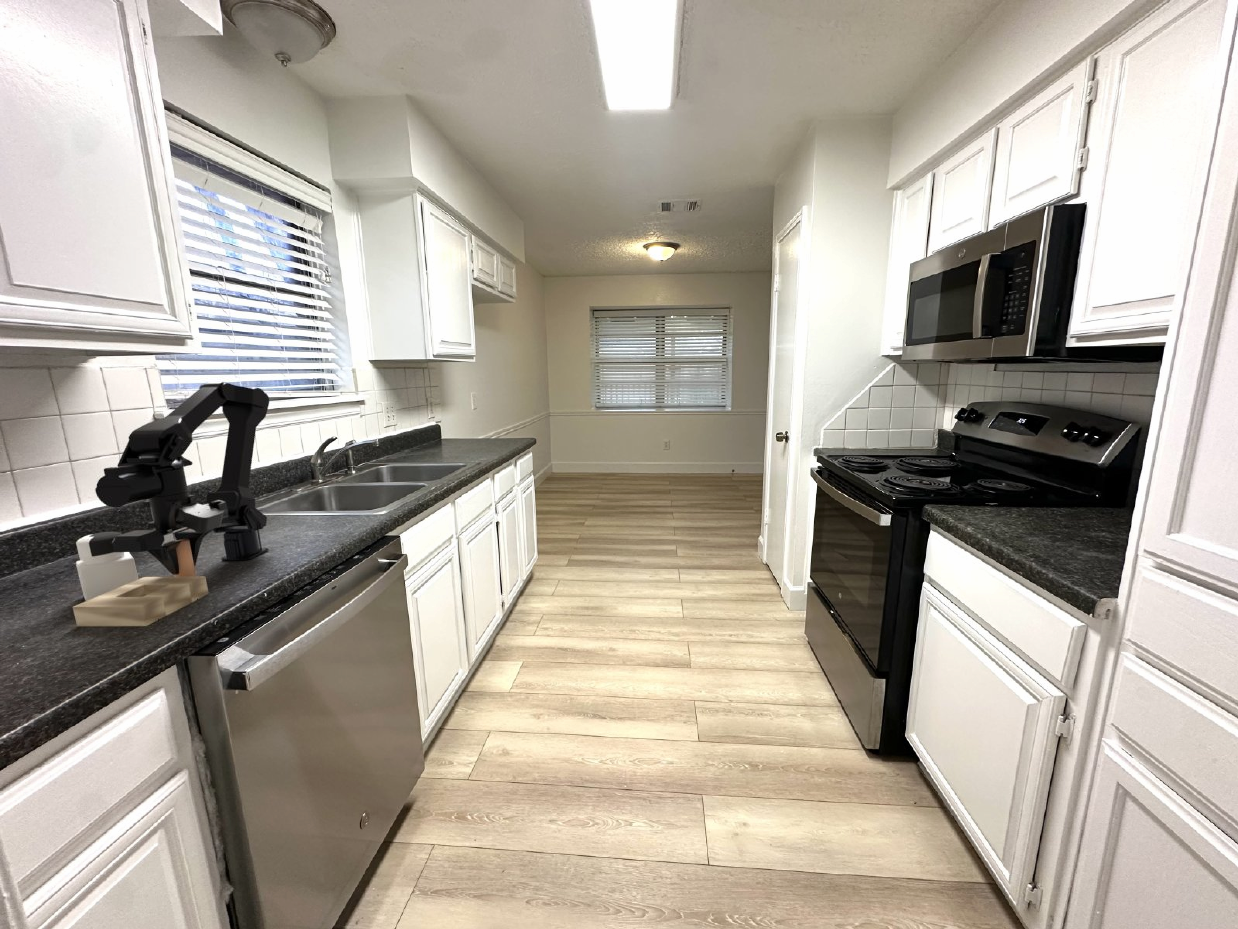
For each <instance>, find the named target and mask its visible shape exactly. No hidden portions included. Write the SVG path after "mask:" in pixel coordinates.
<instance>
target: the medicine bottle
mask: <svg viewBox="0 0 1238 929" xmlns="http://www.w3.org/2000/svg"><path fill="white" fill-rule="evenodd" d="M122 534H123V533H121V532H120V531H119V532H118V531H101V532H97V533H96V532H95V533H92V534H87V535H85V536H83V537H80V538H79V539H78V540H77V541H76V542H75V544H76V548H77V552H78V556H79V560H77V561H76V562H75V566H76V569H77V575H78V579H79V582H80V587H81V591H82V594H83V597H84V600H85V601H88V600H90V599H93V598H95V597H97V596H100V595H102V594H105V593H107V592H109V591H112V590H114V589H117V588H119V587H121V586H124V585H126V584H129V583H131V582H133V581H136V580H138V579H139V576H138V572H137V571H138V570H137V567H136V563H135V558H134V557H133V556H132V555H131V552H114V550H113V545H112V541H113V540H114V538H115V537H116V536H119V535H122Z"/></svg>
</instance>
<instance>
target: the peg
mask: <svg viewBox="0 0 1238 929" xmlns="http://www.w3.org/2000/svg"><path fill="white" fill-rule="evenodd" d="M175 541H181V542H180V544H179V545H178V547H177V548H176V551H177V557H178V563H179V574H177V575H173V577H192V576H197V573H196V569H195V568H196V566H195V567H194V562H193V557H192V552H191V547H190V542H189V539H181V540H176V539H175Z"/></svg>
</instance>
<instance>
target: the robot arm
mask: <svg viewBox="0 0 1238 929" xmlns="http://www.w3.org/2000/svg"><path fill="white" fill-rule="evenodd" d="M269 405H270V398H269V395H268V394H267V393H266V392H265V391H264V390H263V389H262V388H259V387H248V386H247V387H246V386H241V385H237V384H236V385H235V384H233V383H228V382H226V381H216V382H213V381H211V382H205V383H202V384H200V386H199V388H198V389H197V390H195V392H194V393H193V394H191V396H189V397H188V398H187V399H185V400H184V401H183V402H181V404H180V405H178V406H177V407H176V408H175V409H173V410H172V411H171V412H169V413H168V414H167V415H166V416H164V417H162V418H160V419H157V420H154V421H150V422H147V423H145V424H144V425H141V426H140V427H137V428H135V429H134V430H133V431H132V432H131V433H129V436H128V441H127V443H126V446H125V448H124V450H123V452H122V455H121V457H120V459H119V460H118V461H119V462H118V463H117V466H111V467H105V468H104V469H103V473H104V475H102V477H100V478H99V479H98V480H97V484H96V486H95V489H94V490H95V494H96V498H98V500H99V501H100V502H101V503H102V504H103V505H105V506H107V507H109V508H110V507H111V508H121V507H125V506H127V505H131V504H136V503H139V502H142V504H143V508H150V511H151V517H152V520H153V521H150V522H147V528H148V530H147V529H145V530H144V529H142V530H140V529H138V530H137V529H136V530H131V531H129V532H126V533H121V534H122V535H119V536H116V537H115V538H114V540H113V541H112V545H113V550H114V552H129V553H142V552H147V553H149V554H150V555H151V556H153V558H155V559H156V560H157V561H158V562H159V563H160V564H161V565H162V566H163V567H164V568H165V569H166V571H168V572H169V573H171V574H172V576H174V575H177V574H179V563H178V557H177V551H176V548H177V547H178V545H179V544H180V542H181V541H176V540H181V539H189V542H190V547H191V552H192V557H193V562H194V567H195V568H196V565H197V561H198V556H199V553H200V550H201V549H200V548H201V546H202V542H203V540H204V539H205V537H206V536H207V535H209V533H211V532H212V531H213V533H214V534H219V533H223V534H222V535H223V546H224V550H225V556H222V557H220V560H221V561H247V560H251V559H254V558H255V557H257V556H259V555H261V554H264V553H265V552H268V551H269V550H270V548H269V547H262V541H261V540H262V539H261V535H260V530H263V529H264V528H266V526H267V520H268V517H267V516H266V515H265V514H264V513H262V511H260V510H258V508H256V498H255V497H254V495H253V493H252V491H251V489H250V487H249V486H250V479H251V469H252V463H253V455H254V447H255V440H256V432H257V427H258V426H259V425H260V423H262V421H263V420H264V419H265V418H266V416H267V413H268V410H269ZM220 407H221V408H222V409H221V410H222V413H223V415H224V417H225V418H226V420H227V422H228V430H227V438H226V446H225V450H224V451H225V452H224V458H223V466H222V467H223V468H222V472H221V473H222V474H221V480H220V486H219V487H218V488H217V489H216V490H215V491H211V492H210V491H209V492H208V493H207V495H206V499H205V500H206V503H205V504H201V503H199V502H198V498H197V497H196V495H195V494H189V488H188V483H187V478H186V474H185V469H184V467H189V466H192V465H193V461H191V460H190V459H187V458H186V457H184V456H183V455H184V454H185V452H186V451H187V449H188V448H189V447H190V445H191V444H192V443H193V434H194V432H195V431H196V430H197V429H198V428H199V427H200V426H201V425H202V424H203V423H205V421H207V420H208V419H209V418H210V417H211V416H212V415H213V414H214V413H215V412H216V411H217V410H219V409H220ZM149 529H151V530H149ZM174 537H175V538H174Z"/></svg>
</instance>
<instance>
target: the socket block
mask: <svg viewBox="0 0 1238 929" xmlns="http://www.w3.org/2000/svg"><path fill="white" fill-rule="evenodd" d="M207 595H209V589H208V584H207V579H206V576H204V575H203V576H198V575H196V576H192V577H174V576H144V577H141V578H138V580H136V581H133V582H131V583H129V584H126V585H124V586H121V587H119V588H117V589H114V590H112V591H109V592H107V593H105V594H102V595H100V596H97V597H95V598H93V599H90V600H88V601H86V600H85V601H83V602H81V603H79V604H76V605H74V606H72V610H73V614H74V618H75V623H76V626H77V627H147V626H149V625H151V624H153V623H156V622H157V621H159V620H160V619H163V618H165V617H167V616H169V615H171V614H172V613H175V612H176V611H178V610H180V609H182V608H184V607H186V606H188V605H190V604H191V603H194V602H196V601H198V600H200V599H202V598H203V597H206V596H207ZM197 599H198V600H197ZM158 619H159V620H158Z"/></svg>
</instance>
